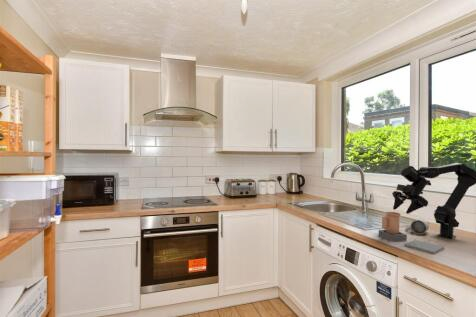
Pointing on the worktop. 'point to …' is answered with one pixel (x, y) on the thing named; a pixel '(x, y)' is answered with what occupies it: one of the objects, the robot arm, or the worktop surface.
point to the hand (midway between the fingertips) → (400, 211)
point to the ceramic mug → (418, 226)
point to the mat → (424, 246)
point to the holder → (393, 236)
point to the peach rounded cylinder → (391, 222)
